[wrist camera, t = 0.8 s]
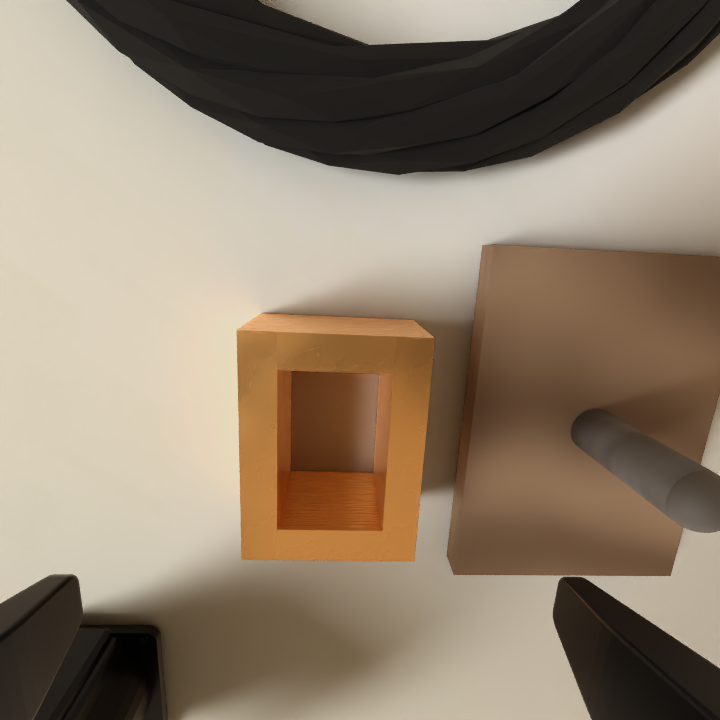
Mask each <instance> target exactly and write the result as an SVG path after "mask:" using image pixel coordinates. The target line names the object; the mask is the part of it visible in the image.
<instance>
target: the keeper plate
mask: <svg viewBox="0 0 720 720" xmlns="http://www.w3.org/2000/svg"><path fill="white" fill-rule="evenodd" d="M719 393H720V257H714V256H695V255H677V254H658V253H640V252H622V251H603V250H585V249H566V248H548V247H530V246H511V245H485V246H482V254H481V263H480V272H479V280H478V289H477V298H476V306H475V315H474V324H473V332H472V341H471V350H470V358H469V367H468V376H467V385H466V393H465V402H464V411H463V419H462V428H461V437H460V445H459V454H458V463H457V471H456V480H455V489H454V497H453V506H452V515H451V524H450V532H449V541H448V550H447V557H448V560H449V563H450V566H451V568H452V571H453V574H454V575H596V576H671V572H672V568H673V565H674V561H675V557H676V553H677V550H678V546H679V542H680V538H681V535H682V531H683V527H684V528H686V529H689V530H692V531H696V532H703V533H711V532H717V531H720V476H719V475H717V474H716V473H714V472H712V471H710V470H709V469H707V468H705V467H703V466H702V465H700V464H701V460H702V456H703V452H704V449H705V445H706V441H707V437H708V434H709V430H710V426H711V422H712V419H713V415H714V411H715V407H716V404H717V400H718V396H719Z"/></svg>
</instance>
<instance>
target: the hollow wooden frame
mask: <svg viewBox="0 0 720 720" xmlns="http://www.w3.org/2000/svg"><path fill="white" fill-rule="evenodd" d="M434 345H435V338H434V337H433V336H432V335H431V334H429V333H428V332H427V331H426V330H425V329H423V328H422V327H421V326H420V325H418V324H417V323H416V322H415V321H413V320H406V319H383V318H360V317H336V316H313V315H290V314H266V313H261V314H260V315H258V316H257V317H255V318H254V319H252V320H251V321H249V322H248V323H247V324H245V325H244V326H242V327H241V328H239V329H238V330H237V363H238V410H239V457H240V504H241V552H242V560H338V561H414V558H415V547H416V537H417V526H418V515H419V505H420V494H421V483H422V473H423V462H424V451H425V441H426V430H427V419H428V409H429V398H430V388H431V377H432V366H433V356H434ZM292 371H312V372H341V373H369V374H379V389H378V404H377V420H376V436H375V452H374V468H373V473H371V472H322V471H291V389H292Z"/></svg>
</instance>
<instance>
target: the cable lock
mask: <svg viewBox="0 0 720 720" xmlns="http://www.w3.org/2000/svg"><path fill="white" fill-rule="evenodd" d="M67 1H68V2H69V3H70V4H71V5H72V6H73V7H74V8H75V9H76V10H77V11H78V12H79V13H80V14H81V15H82V16H83V17H84V18H85V19H86V20H87V21H88V22H89V23H90V24H91V25H92V26H93V27H94V28H95V29H96V30H97V31H98V32H99V33H100V34H102V35H103V36H104V37H105V38H106V39H107V40H108V41H109V42H110V43H111V44H112V45H113V46H114V47H115V48H116V49H117V50H118V51H119V52H121V53H122V54H124V55H126V56H127V57H129V58H130V59H131V60H132V61H133V63H134V64H135V65H137V66H138V67H139V68H141V69H142V70H143V71H145V72H146V73H147V74H148V75H150V76H151V77H152V78H154V79H155V80H156V81H158V82H159V83H160V84H162V85H163V86H164V87H166V88H167V89H168V90H170V91H171V92H172V93H173V94H175V95H176V96H177V97H179V98H180V99H181V100H183V101H184V102H185V103H187V104H188V105H189V106H191V107H192V108H194V109H196V110H198V111H200V112H202V113H204V114H206V115H208V116H210V117H212V118H213V119H215V120H217V121H219V122H221V123H223V124H225V125H227V126H229V127H231V128H233V129H235V130H237V131H239V132H240V133H242V134H244V135H246V136H248V137H250V138H252V139H254V140H256V141H258V142H260V143H263V144H265V145H267V146H270V147H273V148H276V149H280V150H283V151H286V152H289V153H292V154H295V155H298V156H301V157H304V158H308V159H311V160H314V161H317V162H320V163H323V164H326V165H329V166H337V167H344V168H352V169H359V170H367V171H374V172H382V173H389V174H397V175H400V174H407V173H413V172H445V171H467V170H471V169H476V168H481V167H485V166H490V165H494V164H499V163H503V162H508V161H512V160H517V159H522V158H526V157H531V156H533V155H535V154H537V153H539V152H541V151H543V150H545V149H547V148H549V147H551V146H553V145H555V144H557V143H559V142H561V141H563V140H565V139H567V138H569V137H571V136H573V135H575V134H577V133H579V132H581V131H584V130H586V129H588V128H590V127H592V126H594V125H596V124H598V123H601V122H602V121H604V120H606V119H608V118H610V117H612V116H614V115H616V114H618V113H620V112H621V111H622V110H623V109H624V108H626V107H627V106H628V105H629V104H630V103H631V102H633V101H634V100H635V99H637V98H638V97H640V96H641V95H643V94H644V93H645V92H647V91H648V90H650V89H651V88H653V87H654V86H656V85H657V84H659V83H660V82H662V81H663V80H665V79H666V78H668V77H669V76H671V75H672V74H674V73H675V72H677V71H678V70H680V69H681V68H683V67H684V66H686V65H687V64H688V63H689V62H691V61H692V60H693V59H694V58H695V57H696V56H697V55H698V54H699V53H700V52H701V51H702V50H703V49H704V48H705V47H706V46H707V45H708V44H709V43H710V42H711V41H712V40H713V39H714V38H715V37H716V36H717V35H718V34H719V33H720V0H580V1H578V2H577V3H576V4H574V5H573V6H572V7H571V8H569V9H568V10H567V11H565V12H564V13H562V14H561V15H559V16H556V17H554V18H551V19H548V20H545V21H542V22H539V23H536V24H533V25H530V26H527V27H524V28H522V29H519V30H516V31H513V32H510V33H507V34H504V35H501V36H498V37H495V38H492V39H489V40H481V41H457V42H433V43H409V44H384V45H368V44H365V43H363V42H360V41H358V40H355V39H352V38H350V37H347V36H344V35H342V34H339V33H337V32H334V31H331V30H329V29H326V28H324V27H321V26H318V25H316V24H313V23H310V22H308V21H305V20H303V19H300V18H297V17H295V16H292V15H290V14H287V13H284V12H282V11H279V10H276V9H274V8H271V7H269V6H266V5H263V4H262V3H261V2H260V1H258V0H67Z"/></svg>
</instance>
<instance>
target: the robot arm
mask: <svg viewBox="0 0 720 720" xmlns="http://www.w3.org/2000/svg"><path fill="white" fill-rule="evenodd" d="M82 616H83V608H82V601H81V594H80V586H79V580H78V578H77V577H76V576H75V575H72V574H54V575H50V576H48V577H46V578H44V579H42V580H40V581H39V582H37V583H35V584H33V585H32V586H30V587H28V588H27V589H25V590H23V591H21V592H20V593H18V594H16V595H14V596H13V597H11V598H9V599H7V600H6V601H4V602H2V603H1V604H0V720H167V710H166V698H165V685H164V673H163V660H162V647H161V635H160V631H159V630H158V629H157V628H156V627H154V626H150V625H80V624H81V621H82ZM553 620H554V624H555V627H556V630H557V633H558V635H559V638H560V640H561V643H562V646H563V648H564V651H565V653H566V656H567V658H568V661H569V664H570V666H571V669H572V671H573V674H574V677H575V679H576V682H577V684H578V687H579V689H580V692H581V695H582V697H583V700H584V702H585V705H586V707H587V710H588V712H589V714H590V717H591V719H592V720H720V668H718V667H717V666H715V665H714V664H712V663H711V662H709V661H708V660H706V659H705V658H703V657H702V656H700V655H699V654H697V653H696V652H694V651H693V650H691V649H690V648H688V647H687V646H685V645H684V644H682V643H681V642H679V641H678V640H676V639H675V638H673V637H672V636H670V635H669V634H667V633H666V632H664V631H663V630H662V629H660V628H659V627H657V626H656V625H654V624H653V623H651V622H650V621H648V620H647V619H645V618H644V617H642V616H641V615H639V614H638V613H636V612H635V611H633V610H632V609H630V608H629V607H627V606H626V605H624V604H623V603H621V602H620V601H618V600H617V599H615V598H614V597H612V596H611V595H609V594H608V593H606V592H605V591H603V590H602V589H600V588H599V587H597V586H596V585H594V584H593V583H591V582H590V581H588V580H586V579H585V578H582V577H563V578H561V579H560V580H559V583H558V587H557V592H556V598H555V603H554V608H553ZM146 637H147V638H146Z"/></svg>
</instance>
